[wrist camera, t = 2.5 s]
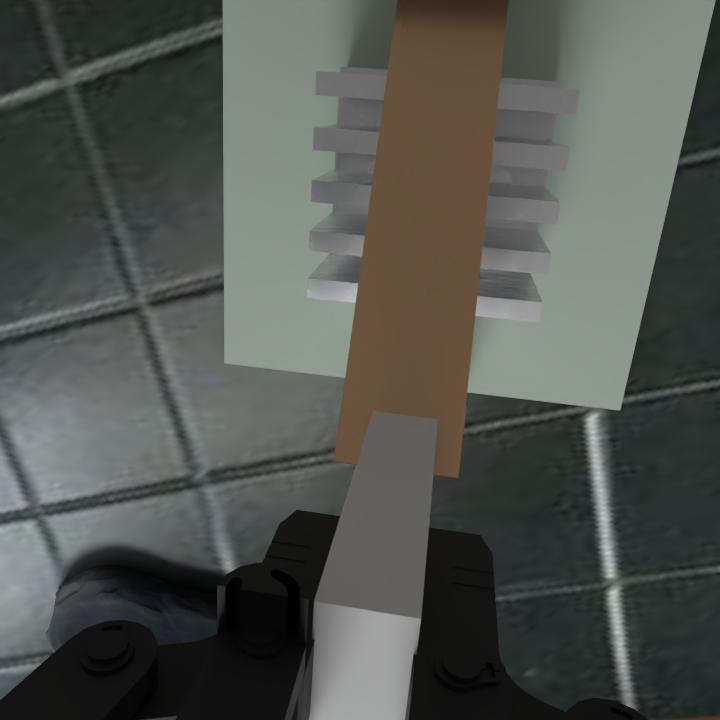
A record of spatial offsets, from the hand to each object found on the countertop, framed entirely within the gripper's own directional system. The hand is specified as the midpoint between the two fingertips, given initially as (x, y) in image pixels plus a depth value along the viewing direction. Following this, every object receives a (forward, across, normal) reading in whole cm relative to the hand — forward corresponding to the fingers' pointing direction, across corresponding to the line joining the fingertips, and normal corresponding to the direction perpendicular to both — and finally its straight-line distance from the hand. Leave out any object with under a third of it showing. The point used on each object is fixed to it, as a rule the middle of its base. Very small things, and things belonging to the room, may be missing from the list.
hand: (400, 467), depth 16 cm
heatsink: (+14, 0, +5) cm, 15 cm away
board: (+15, 0, +5) cm, 16 cm away
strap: (+5, 0, +6) cm, 7 cm away
